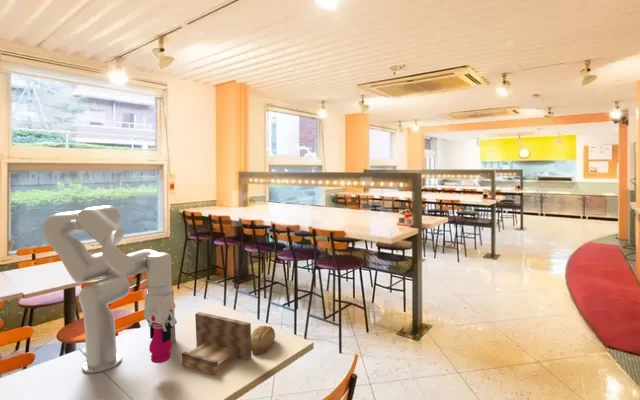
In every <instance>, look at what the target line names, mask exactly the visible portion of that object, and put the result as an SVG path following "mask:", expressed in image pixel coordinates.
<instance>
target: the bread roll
mask: <svg viewBox="0 0 640 400" xmlns="http://www.w3.org/2000/svg"><path fill="white" fill-rule="evenodd" d="M275 339H276V333H275V330H274V328H273V327H272V326H271V325H269V326H268V325H261V326H258V327H257V328H255V329H254V330H253V332H251V353H253V354H256V355H260V354H262V353H265V352H267V350H268V349H269V348H270V347H271V345H272V344H273V342H274V340H275Z"/></svg>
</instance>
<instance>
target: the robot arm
mask: <svg viewBox="0 0 640 400" xmlns="http://www.w3.org/2000/svg"><path fill="white" fill-rule="evenodd" d="M120 214H121V213H120V211H119V210H118V209H117V208H115V207H114V206H113V205H107V204H106V205H100V206H99V205H97V206H91V207H86V208H83V209H80V210H71V211H64V212H58V213H55V214H52V215H49V216H48V217H47V218H46V219H45V220H44V222H43V225H42V232H43V236H44V238H45V240H46V242H47V244H48V245H49V246H50V247H51V248H52V249H53V250H54V251H55V253H56V254H57V256H58V257H59V258H60V260H61V262H62V264H63V265H64V267H65V269H66V271H67V272H68V274H69V276H70V277H71V279H72V280H73V281H74V282H75V283H77V284H84V283H88V282H91V281H94V280H97V279H99V280H97V281H94V282H91V283H89V284H87V285H86V286H84V287H83V288H82V289H80V291H79V294H78V302H79V306H80V307H81V311H82V316H83V326H84V339H85V340H84V341H85V352H83V356H85V359H86V360H85V361H84V362H83V364H82V366H81V368H82V371H83V372H85V373H88V374H96V373H97V374H98V373H101V372H105V371H108V370H111V369H113V368H114V367H116V366H117V365H120V363H121V361H122V355H121V354H120V353H118V352H117V341H116V340H117V339H116V338H117V337H116V325H115V314H114V313H113V311H112V309H111V308H109V305H110V304H112V303H114V302H116V301H119V300H121V299H123V298H125V297H126V296H128V294H129V292H130V289H131V287H130V285H131V284H130V283H129V280H128V278H130V277H134V276H136V275H138V274H141V273H145V272H146V277H147V279H146V281H147V283H146V284H147V292H146V293H145V296H144V297H145V298H144V304H143V305H144V307H143V308H144V310H143V311H144V312H143V316H144V319H145V320H146V321H147V322H148V327H149V337H150V339H151V340H152V338H153V335H154V328H153V324H152V323H153V322H154V323H158V324H162V326H163V330H164V331H162V342H166V341H168V340H170V339H171V329H172V327H173V326H174V325H175V326H176V324H177V323H178V321H177V320H176V318H175V302H174V301H175V300H174V301H173V295H174V294H173V295H172V292H171V288H172V287H171V286H172V256H171V254H169V252H163V251H161V252H159V251H157V250H154V249H150V248H144V249H141V250H137V251H133V252H130V253H127V254H126V253H124V252H122V250H121V249H119V248H118V247H117V245H119V243H120V242H121V241H122V240H123V237H124V236H125V231H124V229H123V227H121V226H120V225H119V223H120V221H121V215H120ZM83 232H85V233H86V234H87V235H89V236H90V237H92V238H93V239H94V240H95V241H96V242H97V243H98V244H100V246H101V252H95V253H92V254H91V253H90V252H89V251H88V249H87V248H86V246H85V244H84V243H83V242H82V241H80V240H79V239H78V238H76V237H74V236H72V235H74V234H78V233H83ZM100 278H101V279H100ZM153 315H154V316H155V321H152V319H151V317H152V316H153ZM166 323H168V325H167V326H166Z"/></svg>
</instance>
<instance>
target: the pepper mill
mask: <svg viewBox="0 0 640 400" xmlns="http://www.w3.org/2000/svg"><path fill="white" fill-rule="evenodd" d="M151 319H152V321H155V316H154V315H153V316H152V317H151ZM152 324H153V328H154V335H153V338H152V339H151V341H150V344H149V353H151V355H150V358H151V359H150V360H151V362H152V363H154V364H162V363H165V362H168V361H169V360H170V359H171V356H172V355H171V349H172V348H173V344H172V342H171V339H170V340H168V341H166V342H162V331H164V330H163V326H162V324H158V323H154V322H153V323H152ZM167 325H168V323H166V326H167Z"/></svg>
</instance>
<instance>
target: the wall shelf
mask: <svg viewBox="0 0 640 400" xmlns="http://www.w3.org/2000/svg"><path fill="white" fill-rule="evenodd" d="M194 316H195V334H196V335H195V338H196V339H195V340H196V348H194V349H192V350H191V351H189V352H187V351H183V352H181V364H182V366H185V367H188V368H192V369H195V370H198V371H201V372H205V373H209V374H211V375H214V376H215V375H218V374H219V373H220V372H221V371H222V370H224V369H226V368H227V367H228V366H229V365H230V364H232V363H233V362H234V361H237V359H241V360H245V361H247V362H248V361H250V360H251V359H252V351H251V335H252V329H251V328H252V327H251V326H252V325H251V322H247V321H243V320H242V321H241V320H237V319H234V318H228V317H224V316H220V315H215V314H210V313H206V312H200V311H198V312H196V313H195V315H194Z"/></svg>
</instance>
